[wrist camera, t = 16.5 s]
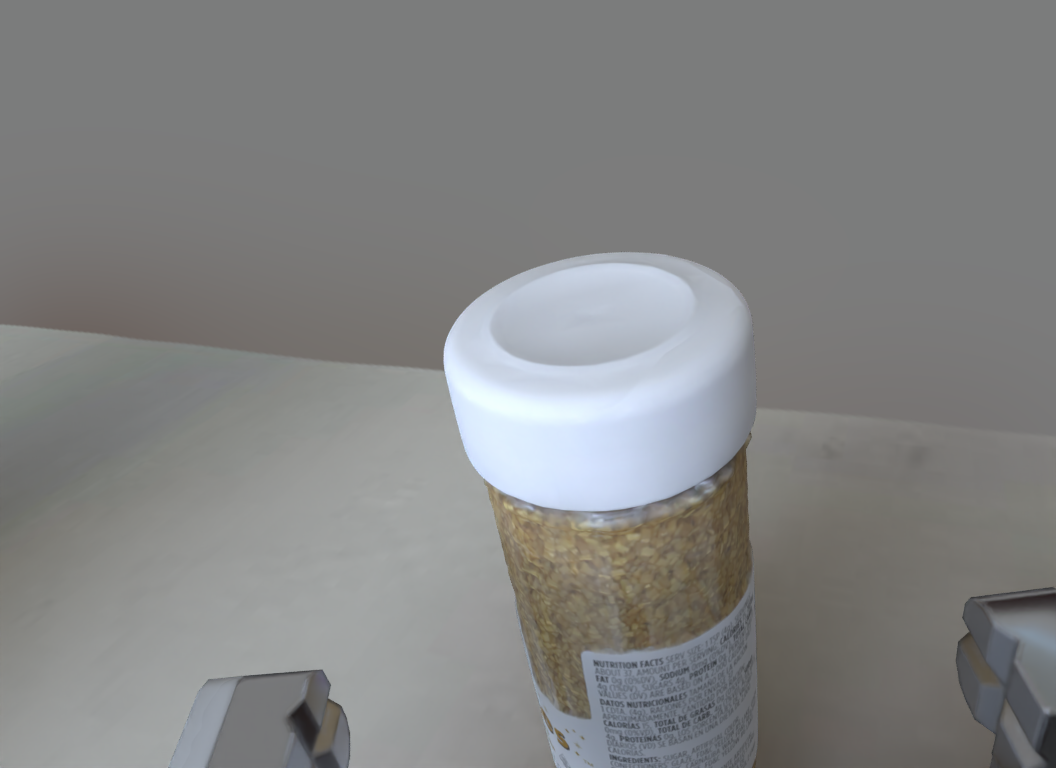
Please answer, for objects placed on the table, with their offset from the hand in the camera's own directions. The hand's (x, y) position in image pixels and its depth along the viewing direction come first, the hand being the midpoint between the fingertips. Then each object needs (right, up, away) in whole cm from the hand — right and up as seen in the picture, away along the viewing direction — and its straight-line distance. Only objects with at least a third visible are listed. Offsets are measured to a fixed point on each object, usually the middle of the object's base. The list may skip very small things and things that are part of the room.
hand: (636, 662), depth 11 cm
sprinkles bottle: (+2, -7, +9) cm, 11 cm away
